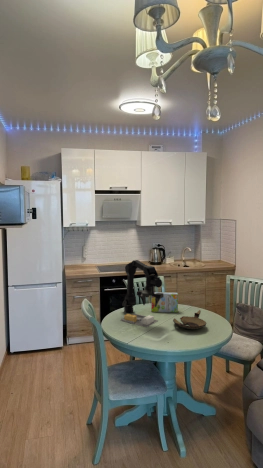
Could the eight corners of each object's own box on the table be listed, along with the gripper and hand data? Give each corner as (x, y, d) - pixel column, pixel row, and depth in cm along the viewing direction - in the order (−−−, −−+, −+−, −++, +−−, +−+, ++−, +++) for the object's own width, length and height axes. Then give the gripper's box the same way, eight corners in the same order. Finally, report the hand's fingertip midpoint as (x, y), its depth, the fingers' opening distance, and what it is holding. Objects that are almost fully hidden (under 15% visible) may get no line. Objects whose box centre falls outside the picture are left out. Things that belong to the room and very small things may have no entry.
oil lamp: (165, 326, 220) (165, 315, 220) (195, 318, 238) (195, 308, 237) (188, 336, 202) (189, 325, 202) (219, 327, 220) (219, 316, 219)
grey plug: (142, 323, 221) (142, 318, 221) (149, 320, 229) (149, 314, 228) (147, 324, 219) (147, 319, 219) (154, 321, 226) (154, 315, 226)
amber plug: (133, 322, 223) (133, 317, 223) (123, 320, 228) (123, 314, 228) (136, 321, 226) (136, 315, 226) (126, 318, 232) (126, 313, 231)
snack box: (177, 310, 256) (177, 292, 255) (177, 312, 251) (178, 294, 250) (151, 309, 258) (151, 291, 257) (151, 311, 253) (151, 293, 252)
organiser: (120, 322, 228) (120, 318, 228) (132, 316, 241) (132, 313, 241) (147, 329, 215) (147, 325, 214) (158, 322, 228) (158, 319, 227)
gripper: (132, 285, 220) (132, 307, 221) (157, 288, 211) (156, 311, 212) (140, 282, 230) (140, 303, 231) (163, 285, 220) (163, 307, 221)
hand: (149, 306), depth 223 cm, fingers open, 9 cm apart
